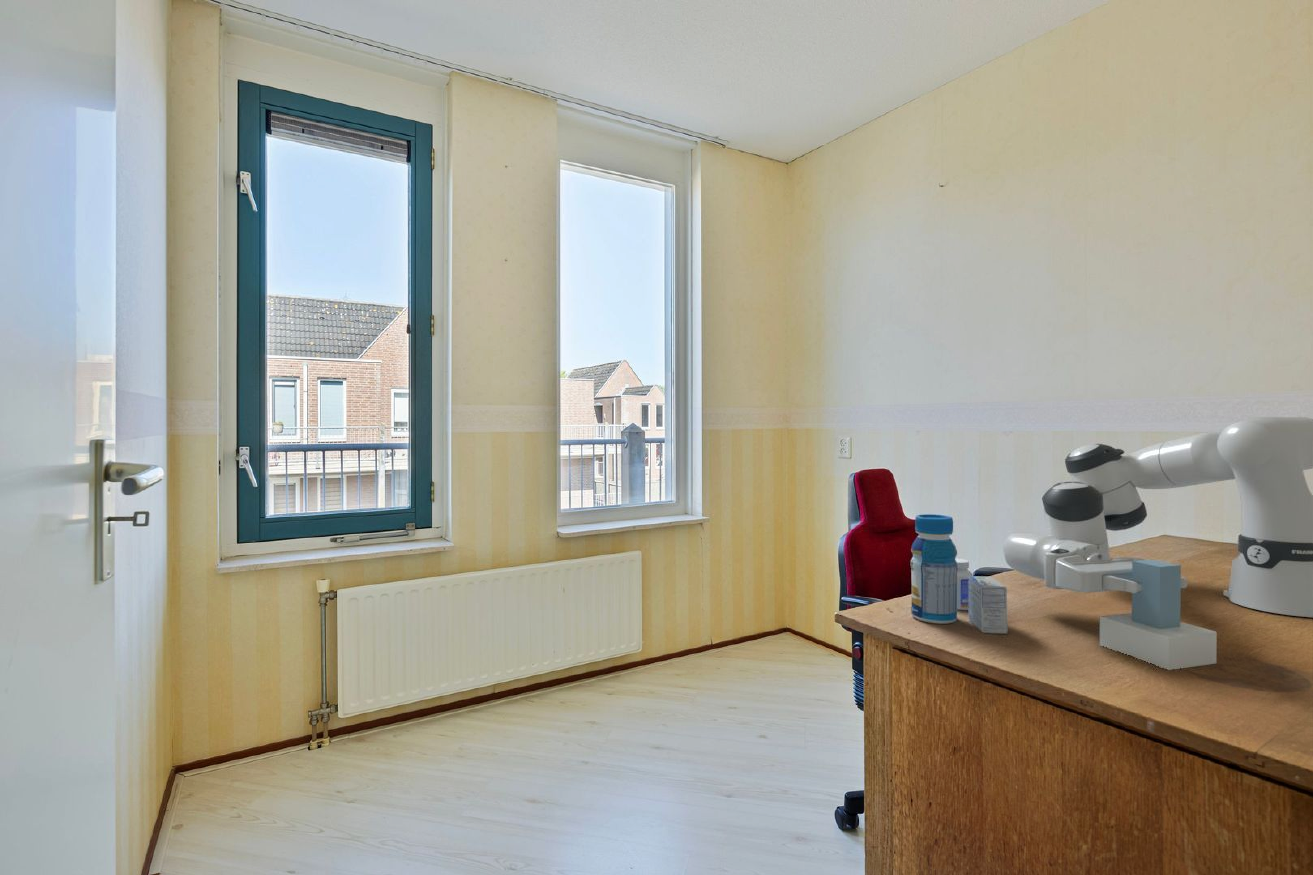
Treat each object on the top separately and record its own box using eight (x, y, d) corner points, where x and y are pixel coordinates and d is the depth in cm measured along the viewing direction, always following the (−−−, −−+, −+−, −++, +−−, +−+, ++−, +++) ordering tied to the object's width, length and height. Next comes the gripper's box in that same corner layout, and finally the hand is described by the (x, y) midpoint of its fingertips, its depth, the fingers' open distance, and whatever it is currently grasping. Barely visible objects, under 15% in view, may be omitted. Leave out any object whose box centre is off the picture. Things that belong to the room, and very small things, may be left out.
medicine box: (1007, 634, 109) (1008, 587, 109) (980, 633, 110) (981, 585, 110) (992, 621, 117) (992, 576, 117) (967, 619, 118) (967, 575, 118)
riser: (1144, 639, 106) (1144, 611, 106) (1216, 663, 95) (1216, 631, 95) (1099, 645, 104) (1099, 616, 103) (1168, 670, 93) (1168, 637, 93)
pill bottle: (972, 604, 127) (972, 558, 127) (973, 611, 122) (973, 564, 122) (943, 601, 130) (943, 556, 129) (943, 608, 125) (943, 561, 125)
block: (1151, 618, 102) (1152, 559, 102) (1180, 626, 98) (1180, 565, 98) (1131, 620, 101) (1132, 561, 101) (1159, 629, 97) (1160, 566, 97)
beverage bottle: (941, 628, 113) (941, 521, 112) (901, 616, 120) (901, 515, 120) (966, 619, 117) (967, 517, 117) (927, 609, 125) (927, 512, 124)
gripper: (1126, 579, 114) (1208, 600, 101) (1038, 587, 109) (1113, 610, 96) (1126, 546, 114) (1209, 562, 101) (1038, 552, 109) (1113, 570, 96)
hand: (1161, 585), depth 98 cm, fingers open, 8 cm apart
